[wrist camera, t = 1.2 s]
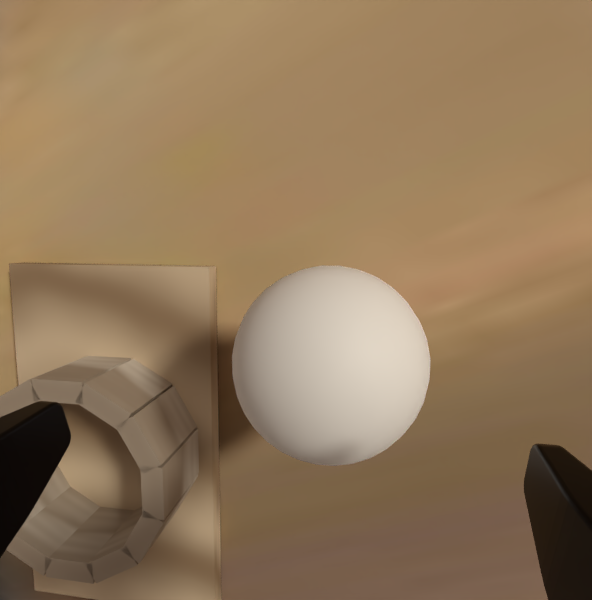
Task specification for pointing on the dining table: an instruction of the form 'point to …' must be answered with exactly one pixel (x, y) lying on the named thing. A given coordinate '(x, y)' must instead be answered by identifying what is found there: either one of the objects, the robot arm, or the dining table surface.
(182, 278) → the lamp base
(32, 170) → the dining table surface
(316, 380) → the lightbulb
